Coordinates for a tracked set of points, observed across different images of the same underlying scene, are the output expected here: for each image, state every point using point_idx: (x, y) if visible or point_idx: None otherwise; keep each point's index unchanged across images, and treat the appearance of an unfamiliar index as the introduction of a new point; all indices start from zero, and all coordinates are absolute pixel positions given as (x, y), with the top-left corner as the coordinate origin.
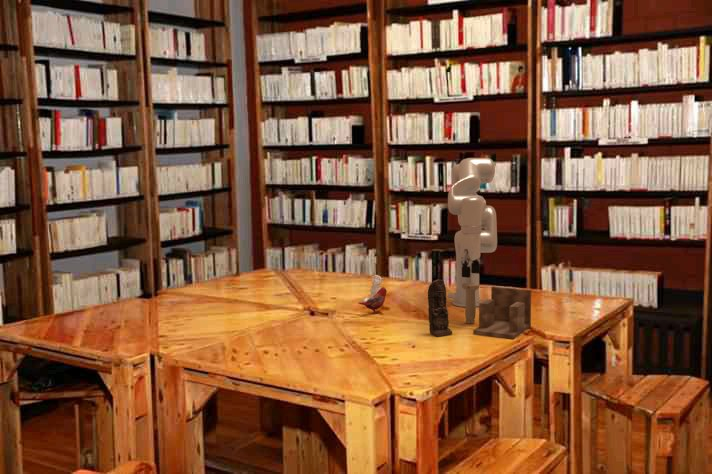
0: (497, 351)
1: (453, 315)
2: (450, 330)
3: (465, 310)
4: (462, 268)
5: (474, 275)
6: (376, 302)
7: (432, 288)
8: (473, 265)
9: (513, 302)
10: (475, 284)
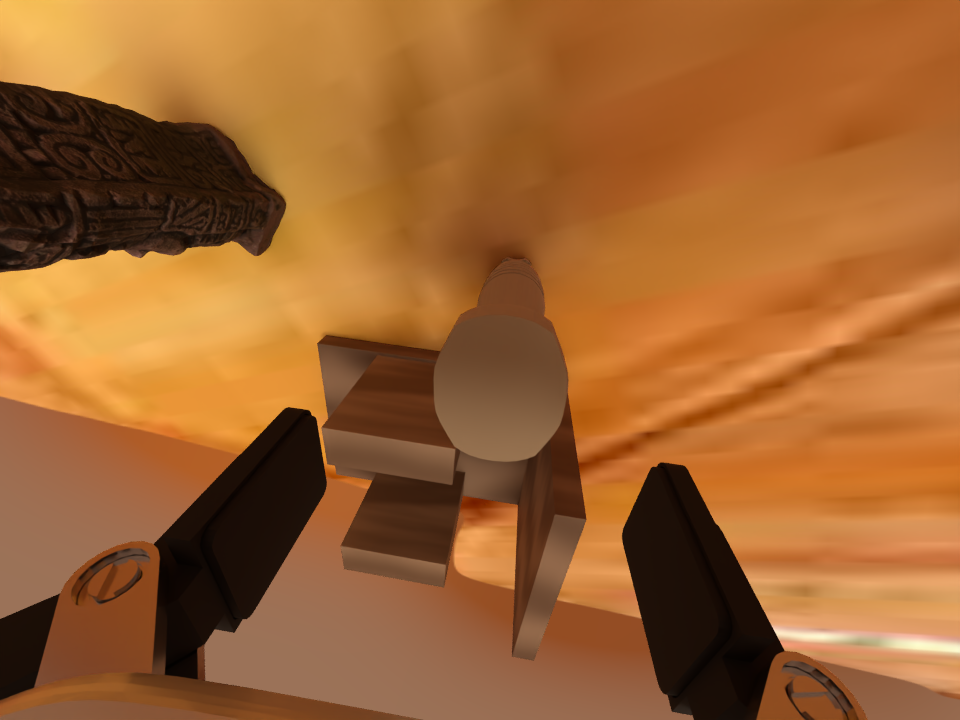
0: (190, 439)
1: (697, 115)
2: (248, 247)
3: (493, 274)
4: (201, 510)
5: None
6: None
7: None
8: (687, 600)
9: (527, 532)
10: (515, 433)
